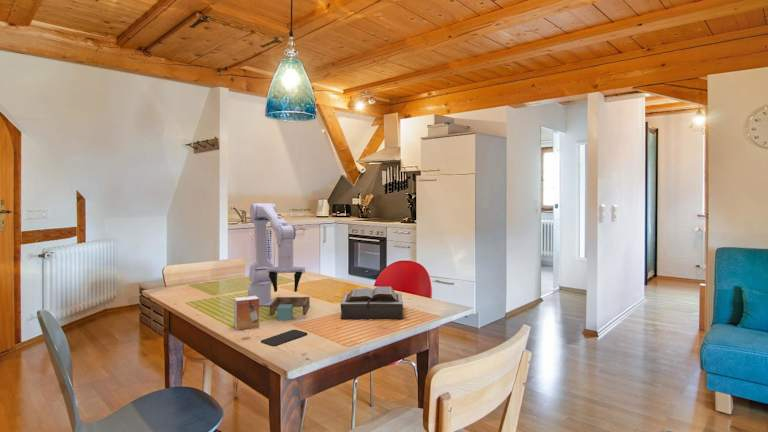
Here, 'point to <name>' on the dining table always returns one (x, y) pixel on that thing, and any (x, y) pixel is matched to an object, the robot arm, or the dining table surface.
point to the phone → (284, 337)
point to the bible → (372, 304)
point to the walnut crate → (295, 301)
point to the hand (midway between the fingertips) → (285, 291)
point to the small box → (246, 312)
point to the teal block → (284, 312)
